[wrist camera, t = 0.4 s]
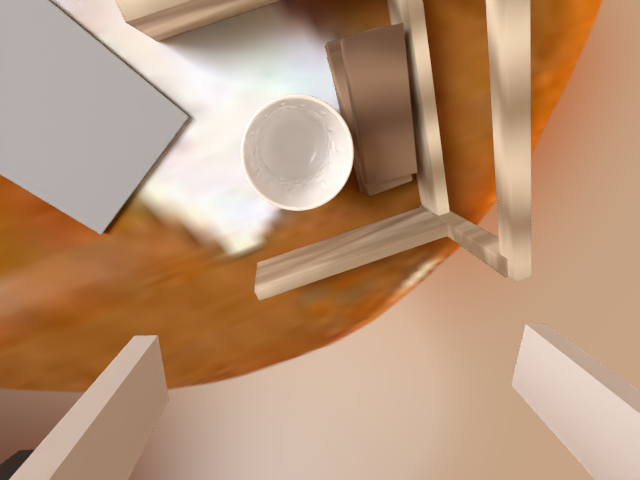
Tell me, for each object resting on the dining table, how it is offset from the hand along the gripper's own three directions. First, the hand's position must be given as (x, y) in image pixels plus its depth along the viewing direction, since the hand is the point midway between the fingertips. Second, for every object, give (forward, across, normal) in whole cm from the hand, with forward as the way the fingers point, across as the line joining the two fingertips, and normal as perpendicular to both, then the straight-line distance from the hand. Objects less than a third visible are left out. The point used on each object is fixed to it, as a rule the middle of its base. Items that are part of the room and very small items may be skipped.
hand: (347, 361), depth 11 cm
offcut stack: (+23, +5, +10) cm, 26 cm away
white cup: (+23, -2, +8) cm, 24 cm away
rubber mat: (+21, -22, +9) cm, 32 cm away
